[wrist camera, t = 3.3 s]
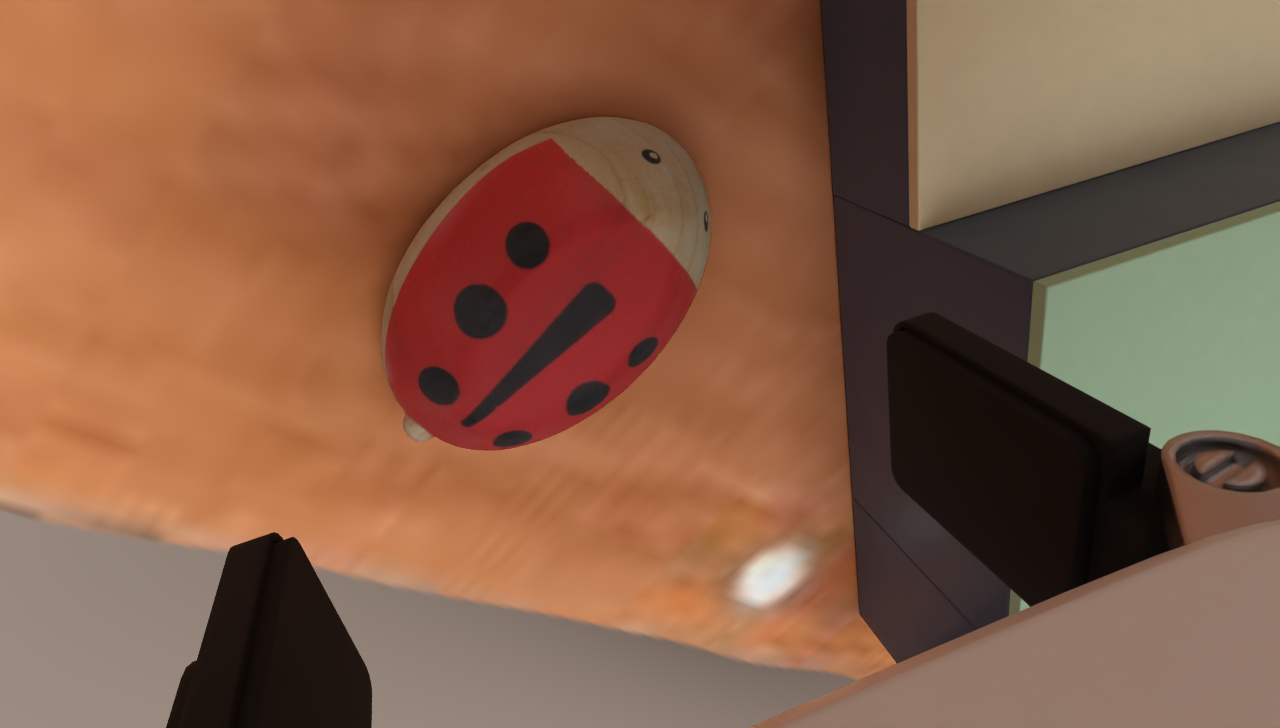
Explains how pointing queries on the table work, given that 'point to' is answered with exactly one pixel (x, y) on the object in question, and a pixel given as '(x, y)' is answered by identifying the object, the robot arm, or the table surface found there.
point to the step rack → (1050, 234)
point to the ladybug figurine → (545, 283)
